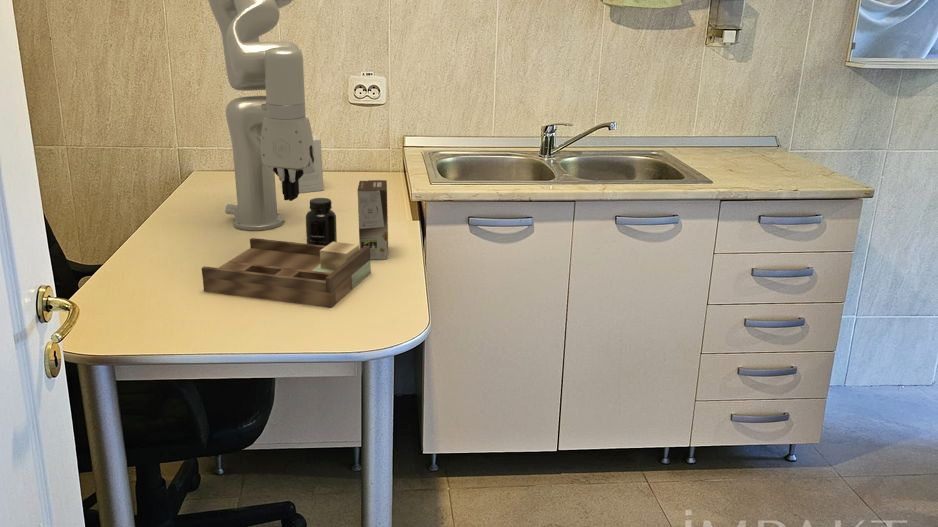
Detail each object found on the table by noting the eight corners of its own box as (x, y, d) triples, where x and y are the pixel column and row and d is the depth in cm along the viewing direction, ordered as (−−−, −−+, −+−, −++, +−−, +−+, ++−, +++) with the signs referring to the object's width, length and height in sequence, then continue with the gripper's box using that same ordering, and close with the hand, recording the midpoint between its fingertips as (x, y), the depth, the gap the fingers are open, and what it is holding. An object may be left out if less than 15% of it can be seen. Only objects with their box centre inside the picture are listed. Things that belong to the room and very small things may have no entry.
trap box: (203, 291, 175) (201, 263, 173) (253, 259, 193) (251, 233, 191) (331, 307, 168) (330, 278, 166) (370, 272, 186) (369, 246, 184)
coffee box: (388, 259, 194) (386, 190, 188) (359, 260, 193) (357, 190, 188) (388, 246, 202) (387, 179, 197) (361, 246, 202) (358, 179, 196)
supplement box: (316, 183, 255) (313, 133, 250) (324, 191, 247) (321, 139, 242) (285, 186, 252) (282, 135, 247) (292, 194, 244) (289, 141, 239)
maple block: (320, 268, 179) (319, 250, 178) (334, 259, 185) (333, 241, 183) (346, 272, 178) (346, 253, 176) (359, 262, 183) (358, 244, 182)
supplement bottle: (312, 257, 195) (309, 205, 191) (303, 248, 200) (300, 198, 196) (341, 252, 198) (339, 202, 194) (331, 244, 203) (329, 194, 199)
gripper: (243, 111, 172) (249, 200, 179) (312, 118, 168) (316, 208, 175) (261, 104, 179) (267, 190, 185) (328, 110, 175) (331, 197, 182)
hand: (291, 198), depth 180 cm, fingers closed
